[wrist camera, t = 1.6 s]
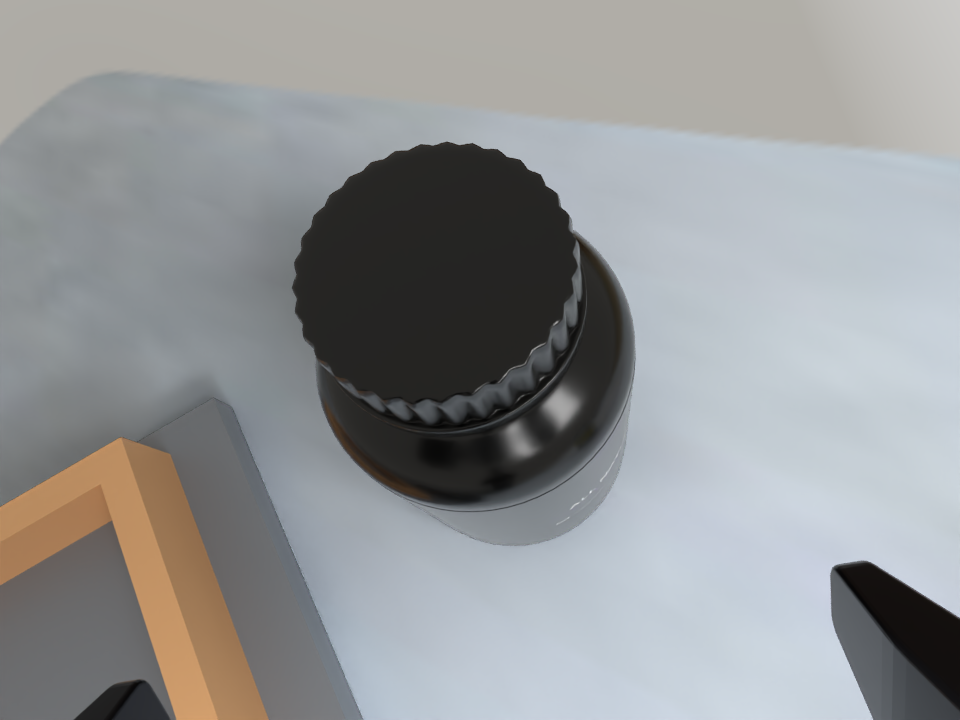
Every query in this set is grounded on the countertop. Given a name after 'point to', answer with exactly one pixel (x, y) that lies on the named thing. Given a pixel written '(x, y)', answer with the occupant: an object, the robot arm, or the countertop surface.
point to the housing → (161, 586)
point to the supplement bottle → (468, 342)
